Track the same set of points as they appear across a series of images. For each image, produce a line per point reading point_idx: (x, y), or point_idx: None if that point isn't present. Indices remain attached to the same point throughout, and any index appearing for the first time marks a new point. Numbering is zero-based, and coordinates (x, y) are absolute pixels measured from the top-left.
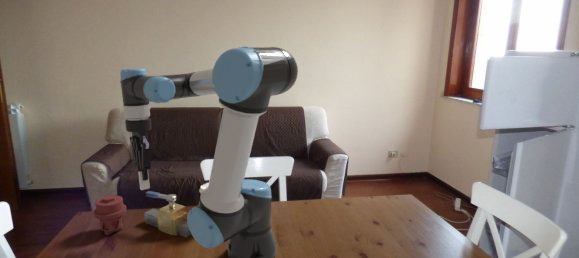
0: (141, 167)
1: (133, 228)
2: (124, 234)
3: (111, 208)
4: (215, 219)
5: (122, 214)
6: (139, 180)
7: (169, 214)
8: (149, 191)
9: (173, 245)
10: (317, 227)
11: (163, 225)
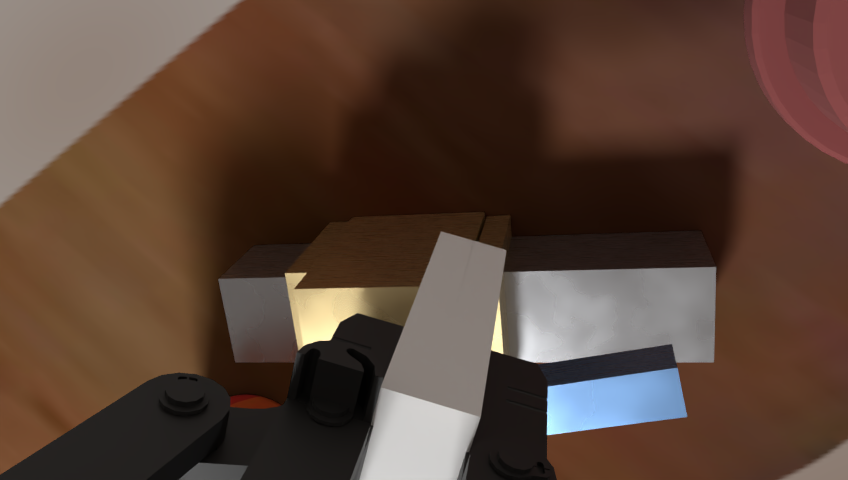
0: (265, 441)
1: (710, 118)
2: (690, 9)
3: None
4: None
5: (747, 46)
6: (480, 306)
7: (321, 282)
8: (665, 410)
9: (235, 128)
10: None
11: (433, 233)
